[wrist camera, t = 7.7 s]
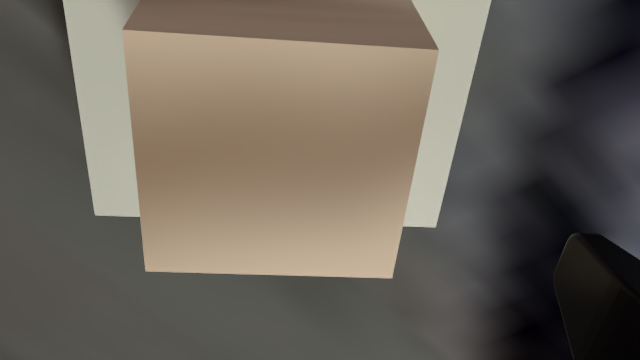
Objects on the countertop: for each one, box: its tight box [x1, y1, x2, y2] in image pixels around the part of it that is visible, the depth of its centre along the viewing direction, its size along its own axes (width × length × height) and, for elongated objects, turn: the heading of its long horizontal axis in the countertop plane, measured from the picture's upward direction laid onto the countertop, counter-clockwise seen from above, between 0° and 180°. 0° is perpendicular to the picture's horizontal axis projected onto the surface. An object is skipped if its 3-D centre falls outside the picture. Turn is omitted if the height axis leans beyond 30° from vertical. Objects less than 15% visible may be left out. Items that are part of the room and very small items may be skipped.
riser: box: [63, 0, 491, 227], centre depth 16 cm, size 10×10×3 cm
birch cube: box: [122, 0, 439, 278], centre depth 13 cm, size 5×5×5 cm
